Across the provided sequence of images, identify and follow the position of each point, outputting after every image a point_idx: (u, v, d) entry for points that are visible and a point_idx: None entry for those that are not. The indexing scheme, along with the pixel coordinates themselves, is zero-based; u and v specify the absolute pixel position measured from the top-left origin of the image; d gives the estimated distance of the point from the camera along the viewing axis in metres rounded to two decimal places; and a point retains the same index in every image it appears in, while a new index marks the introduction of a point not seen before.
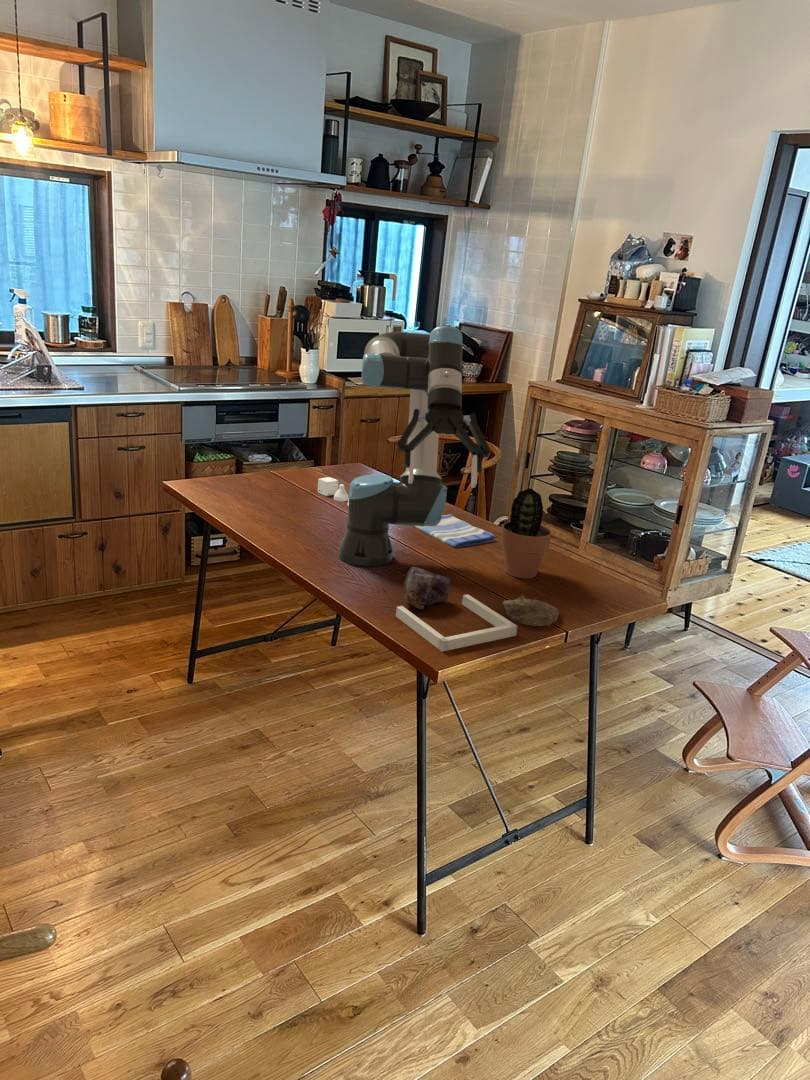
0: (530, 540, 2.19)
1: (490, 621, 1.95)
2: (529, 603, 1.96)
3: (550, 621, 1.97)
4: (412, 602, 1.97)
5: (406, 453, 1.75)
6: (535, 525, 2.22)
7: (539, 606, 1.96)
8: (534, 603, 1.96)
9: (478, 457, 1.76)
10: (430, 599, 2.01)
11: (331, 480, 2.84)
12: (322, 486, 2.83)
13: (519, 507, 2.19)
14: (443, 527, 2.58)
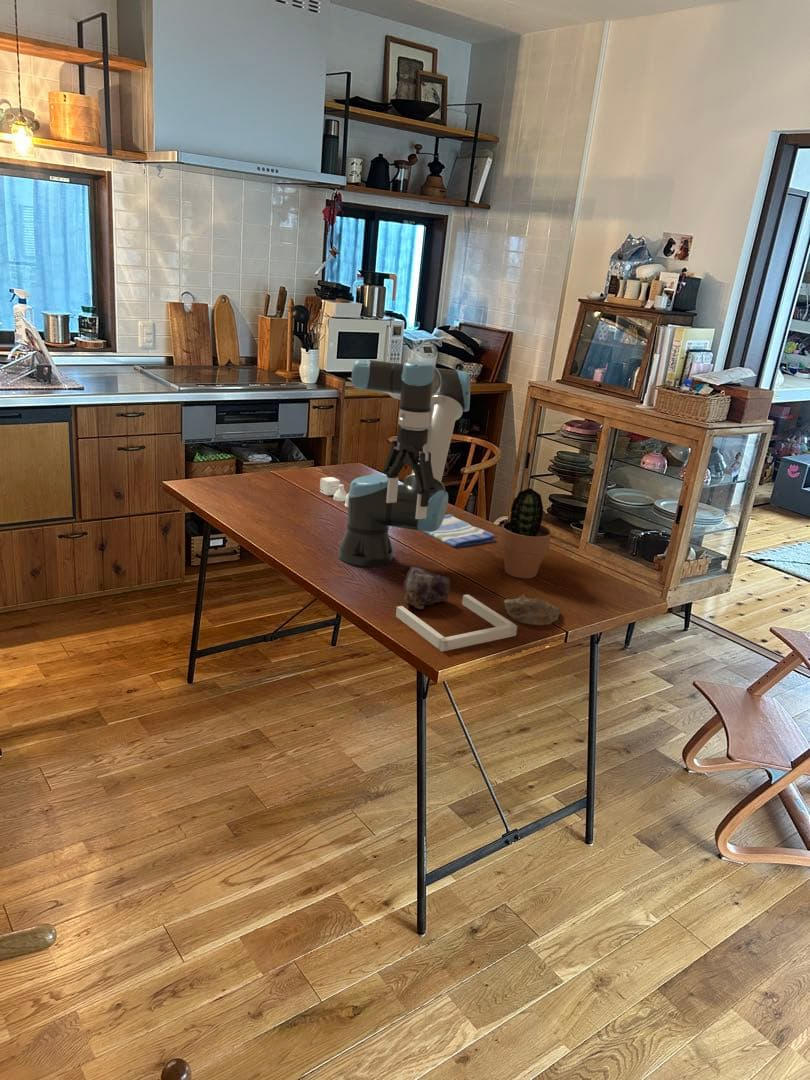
0: (530, 540, 2.19)
1: (490, 621, 1.95)
2: (529, 602, 1.96)
3: (550, 620, 1.98)
4: (412, 602, 1.97)
5: (388, 478, 2.09)
6: (535, 525, 2.22)
7: (540, 605, 1.97)
8: (534, 602, 1.97)
9: (422, 494, 1.97)
10: (430, 599, 2.01)
11: (333, 480, 2.84)
12: (323, 485, 2.84)
13: (519, 507, 2.19)
14: (443, 527, 2.58)
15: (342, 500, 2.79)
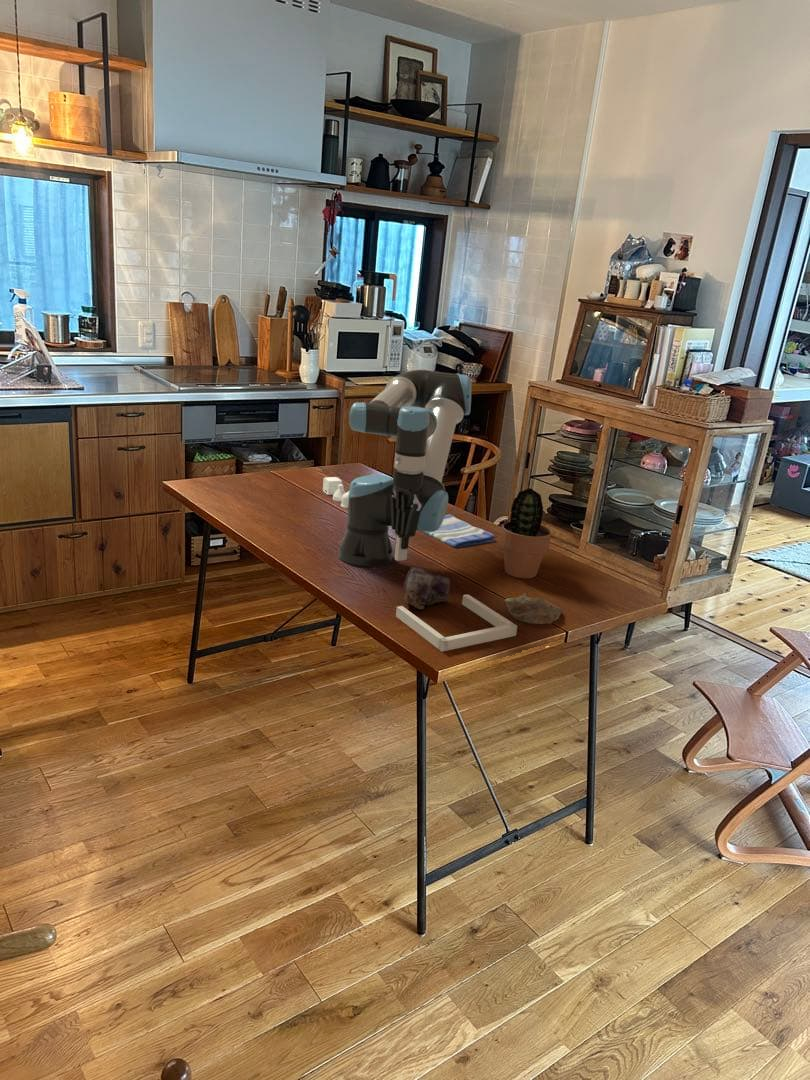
0: (530, 540, 2.19)
1: (490, 621, 1.95)
2: (530, 601, 1.97)
3: (551, 619, 1.98)
4: (412, 602, 1.97)
5: (396, 535, 2.09)
6: (535, 525, 2.22)
7: (540, 604, 1.97)
8: (535, 601, 1.97)
9: None
10: (430, 599, 2.01)
11: (335, 480, 2.84)
12: (325, 485, 2.85)
13: (519, 507, 2.19)
14: (443, 527, 2.58)
15: (340, 500, 2.78)
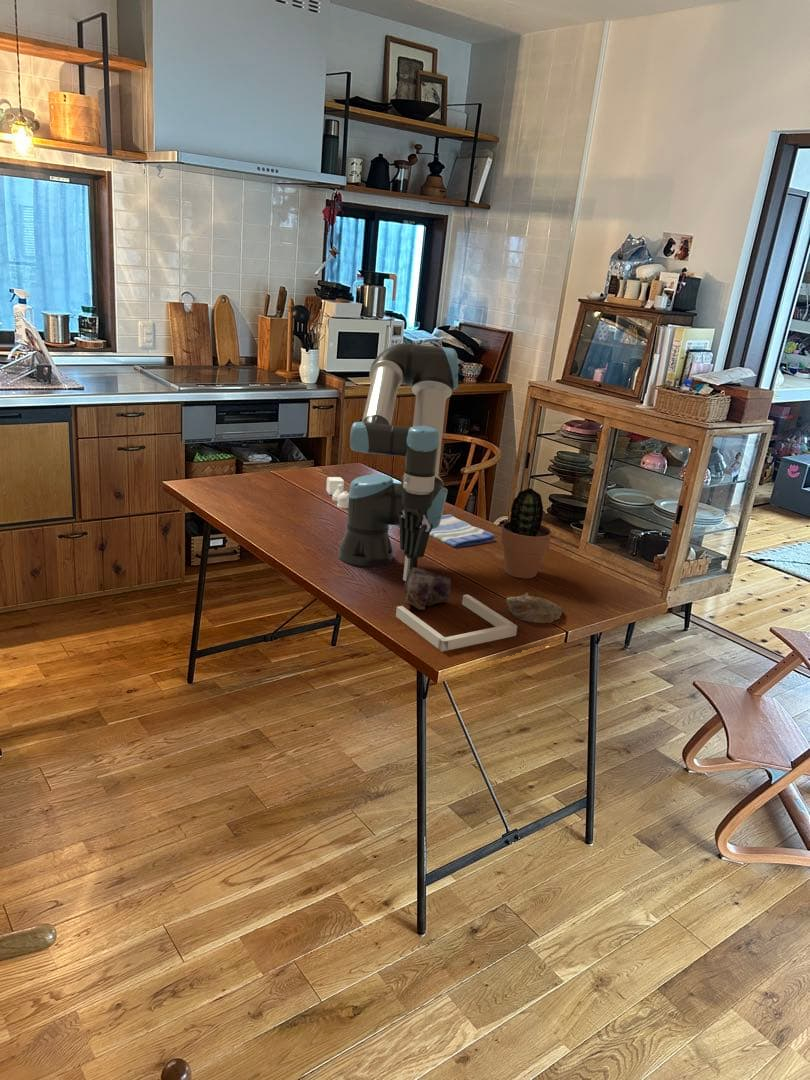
0: (530, 540, 2.19)
1: (490, 621, 1.95)
2: (531, 600, 1.98)
3: (552, 619, 1.99)
4: (413, 602, 1.96)
5: (405, 556, 2.06)
6: (535, 525, 2.22)
7: (541, 603, 1.98)
8: (536, 600, 1.98)
9: None
10: (431, 600, 2.00)
11: (338, 480, 2.85)
12: (328, 485, 2.86)
13: (519, 507, 2.19)
14: (443, 527, 2.58)
15: None
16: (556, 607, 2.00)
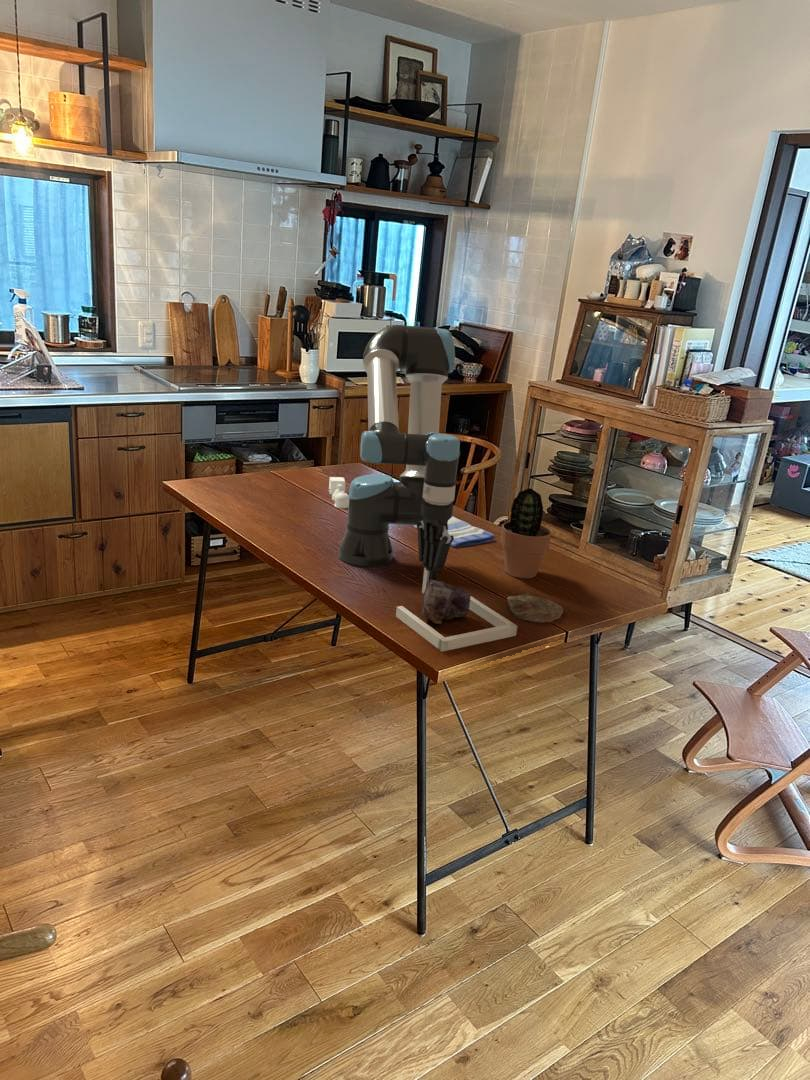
0: (530, 540, 2.19)
1: (490, 621, 1.95)
2: (531, 599, 1.98)
3: (552, 618, 1.99)
4: (429, 616, 1.90)
5: (424, 568, 1.99)
6: (535, 525, 2.22)
7: (542, 603, 1.98)
8: (536, 599, 1.98)
9: None
10: (449, 614, 1.93)
11: (339, 480, 2.85)
12: (330, 484, 2.86)
13: (519, 507, 2.19)
14: None
15: None
16: (557, 606, 2.01)
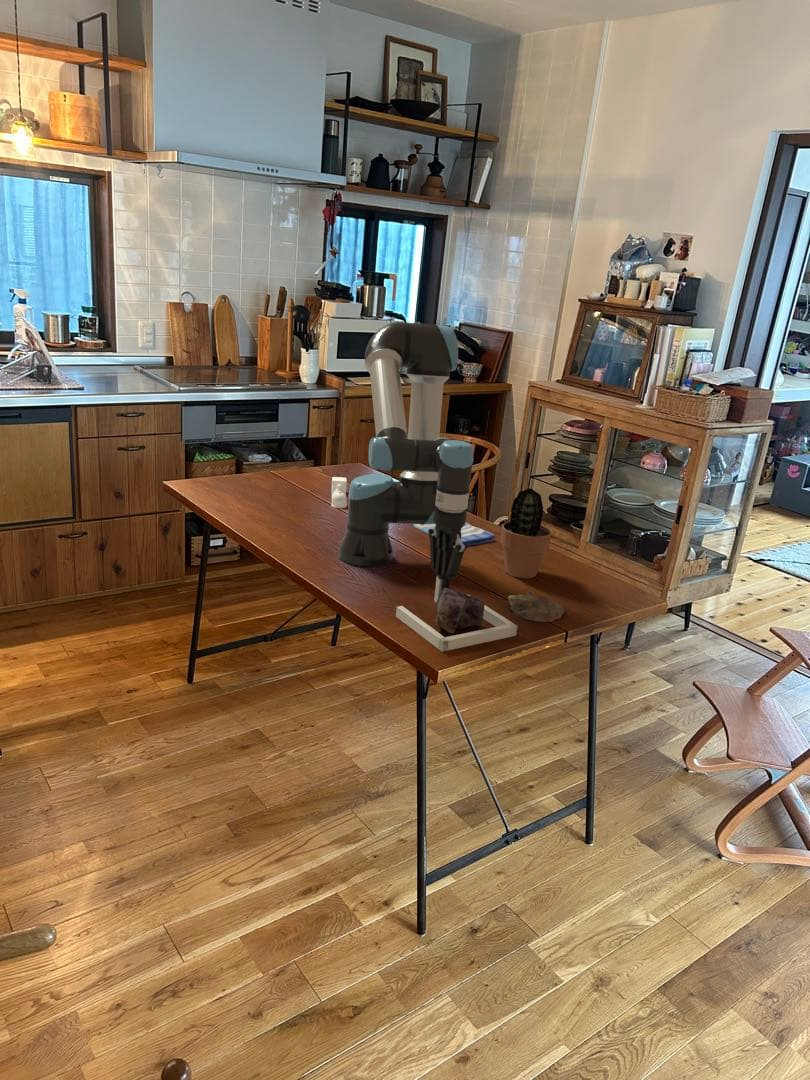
0: (530, 540, 2.19)
1: (490, 621, 1.95)
2: (532, 598, 1.98)
3: (552, 617, 1.99)
4: (442, 625, 1.86)
5: (436, 576, 1.95)
6: (535, 525, 2.22)
7: (542, 602, 1.99)
8: (537, 599, 1.99)
9: None
10: (462, 623, 1.89)
11: (341, 480, 2.85)
12: None
13: (519, 507, 2.19)
14: None
15: None
16: (557, 606, 2.01)
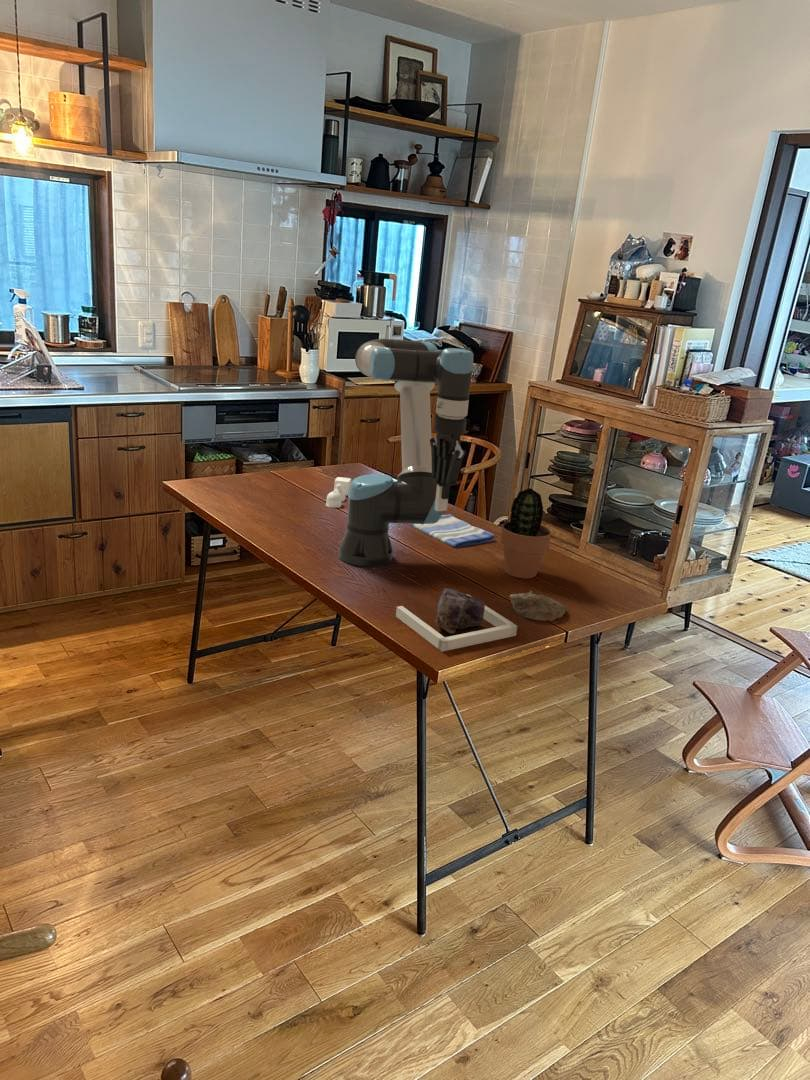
0: (530, 540, 2.19)
1: (490, 621, 1.95)
2: (532, 597, 1.99)
3: (553, 616, 2.00)
4: (442, 626, 1.86)
5: (437, 485, 2.00)
6: (535, 525, 2.22)
7: (543, 601, 1.99)
8: (538, 598, 2.00)
9: None
10: (463, 623, 1.89)
11: (344, 480, 2.85)
12: None
13: (519, 507, 2.19)
14: (442, 527, 2.58)
15: None
16: (559, 605, 2.01)
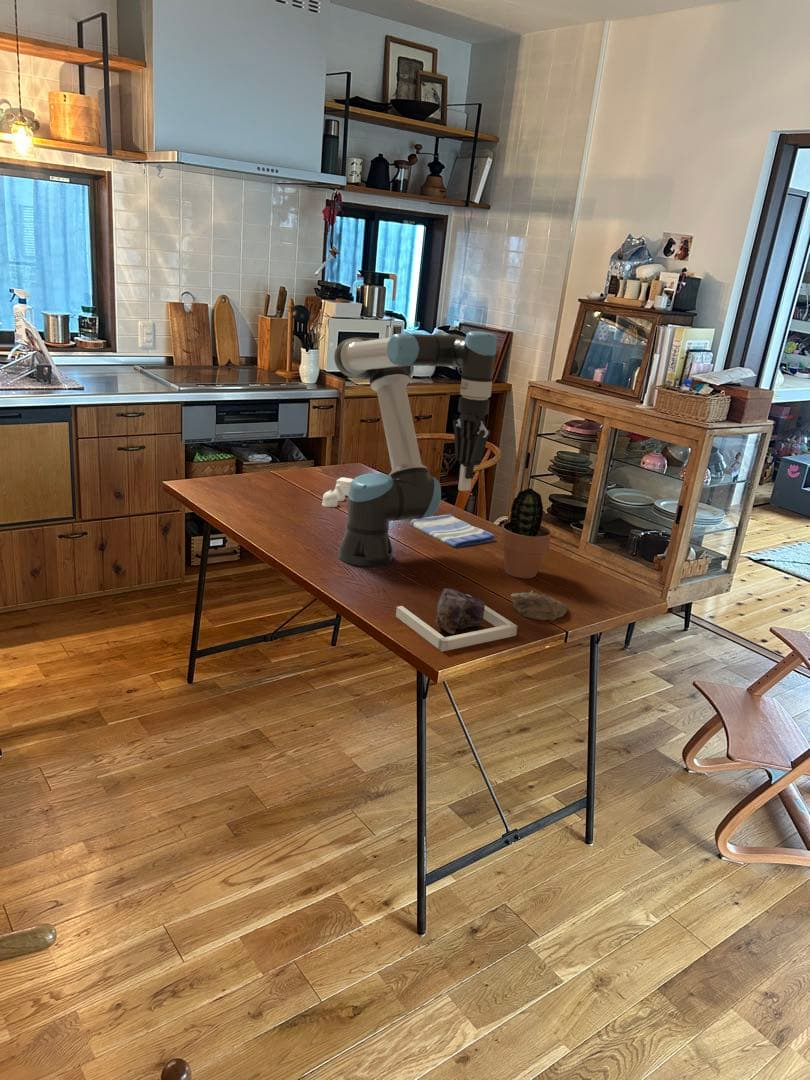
0: (530, 540, 2.19)
1: (490, 621, 1.95)
2: (533, 596, 2.00)
3: (554, 616, 2.00)
4: (442, 626, 1.86)
5: (460, 465, 2.06)
6: (535, 525, 2.22)
7: (544, 600, 2.00)
8: (539, 597, 2.00)
9: None
10: (463, 623, 1.89)
11: (346, 480, 2.85)
12: None
13: (519, 507, 2.19)
14: (442, 527, 2.59)
15: None
16: (560, 605, 2.02)
